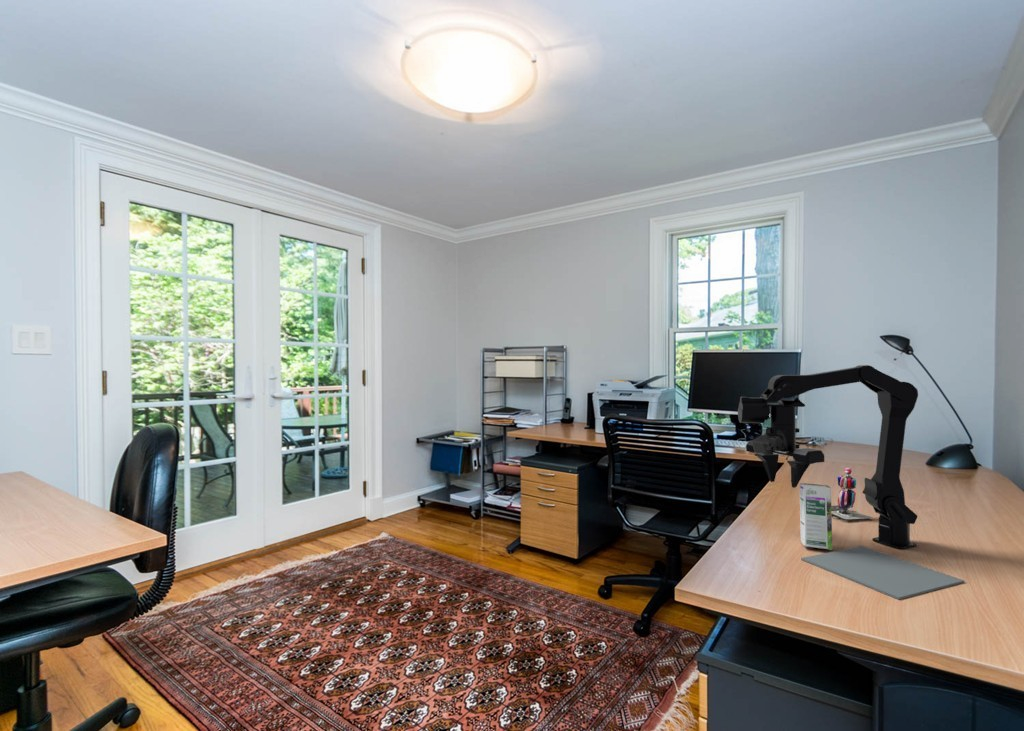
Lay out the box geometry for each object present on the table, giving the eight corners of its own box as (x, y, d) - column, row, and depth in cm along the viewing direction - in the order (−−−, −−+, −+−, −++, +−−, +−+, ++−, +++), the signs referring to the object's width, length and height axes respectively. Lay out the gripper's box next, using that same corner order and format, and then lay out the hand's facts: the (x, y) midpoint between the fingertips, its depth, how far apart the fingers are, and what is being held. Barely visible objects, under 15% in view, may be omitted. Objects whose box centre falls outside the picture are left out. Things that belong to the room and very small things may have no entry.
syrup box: (804, 546, 114) (803, 484, 116) (800, 541, 120) (799, 481, 121) (832, 550, 112) (831, 486, 114) (827, 544, 118) (826, 484, 119)
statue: (872, 524, 136) (879, 473, 135) (844, 526, 134) (851, 474, 133) (838, 508, 147) (844, 460, 145) (812, 510, 145) (818, 461, 143)
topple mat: (862, 547, 116) (862, 545, 116) (964, 582, 97) (964, 580, 97) (801, 559, 109) (801, 558, 109) (898, 599, 90) (898, 597, 90)
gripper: (730, 421, 130) (730, 479, 130) (792, 429, 113) (792, 496, 113) (761, 419, 134) (761, 475, 134) (825, 427, 117) (826, 492, 117)
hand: (782, 484), depth 124 cm, fingers open, 6 cm apart
